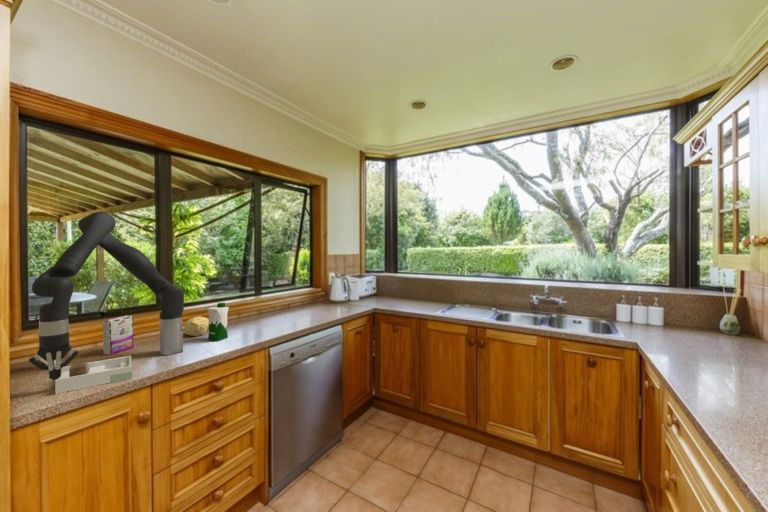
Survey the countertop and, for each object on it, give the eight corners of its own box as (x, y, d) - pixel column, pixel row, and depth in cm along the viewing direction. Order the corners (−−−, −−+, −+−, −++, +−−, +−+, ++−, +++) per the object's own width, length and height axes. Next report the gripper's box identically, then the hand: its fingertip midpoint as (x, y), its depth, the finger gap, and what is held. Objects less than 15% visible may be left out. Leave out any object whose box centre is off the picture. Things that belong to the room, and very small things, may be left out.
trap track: (131, 367, 135) (131, 355, 135) (132, 378, 123) (131, 366, 123) (62, 379, 121) (61, 367, 121) (55, 394, 110) (55, 380, 110)
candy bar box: (125, 346, 160) (125, 315, 160) (133, 347, 159) (133, 315, 159) (102, 354, 149) (101, 320, 149) (110, 355, 148) (110, 321, 148)
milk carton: (230, 337, 179) (230, 303, 178) (216, 342, 171) (216, 306, 170) (219, 335, 182) (219, 301, 182) (205, 340, 174) (205, 304, 173)
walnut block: (87, 373, 120) (87, 362, 120) (86, 377, 117) (86, 366, 116) (70, 376, 117) (70, 365, 117) (69, 381, 114) (69, 369, 113)
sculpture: (198, 338, 177) (198, 319, 176) (179, 336, 179) (179, 318, 178) (212, 332, 188) (212, 315, 188) (194, 331, 190) (194, 314, 190)
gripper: (80, 327, 119) (81, 371, 120) (29, 332, 111) (30, 380, 112) (78, 331, 114) (79, 378, 114) (24, 338, 105) (25, 388, 106)
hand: (55, 379), depth 113 cm, fingers closed
